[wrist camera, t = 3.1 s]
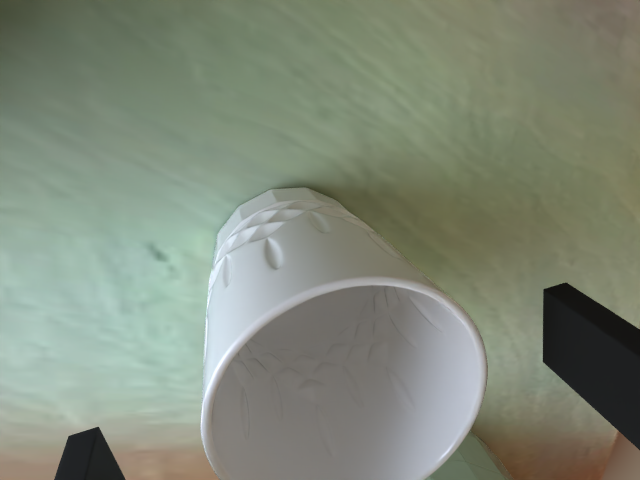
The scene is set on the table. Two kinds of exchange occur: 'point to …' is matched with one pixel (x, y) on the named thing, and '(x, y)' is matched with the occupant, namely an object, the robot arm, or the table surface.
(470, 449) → the bowl
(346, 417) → the white cup
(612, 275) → the table surface
